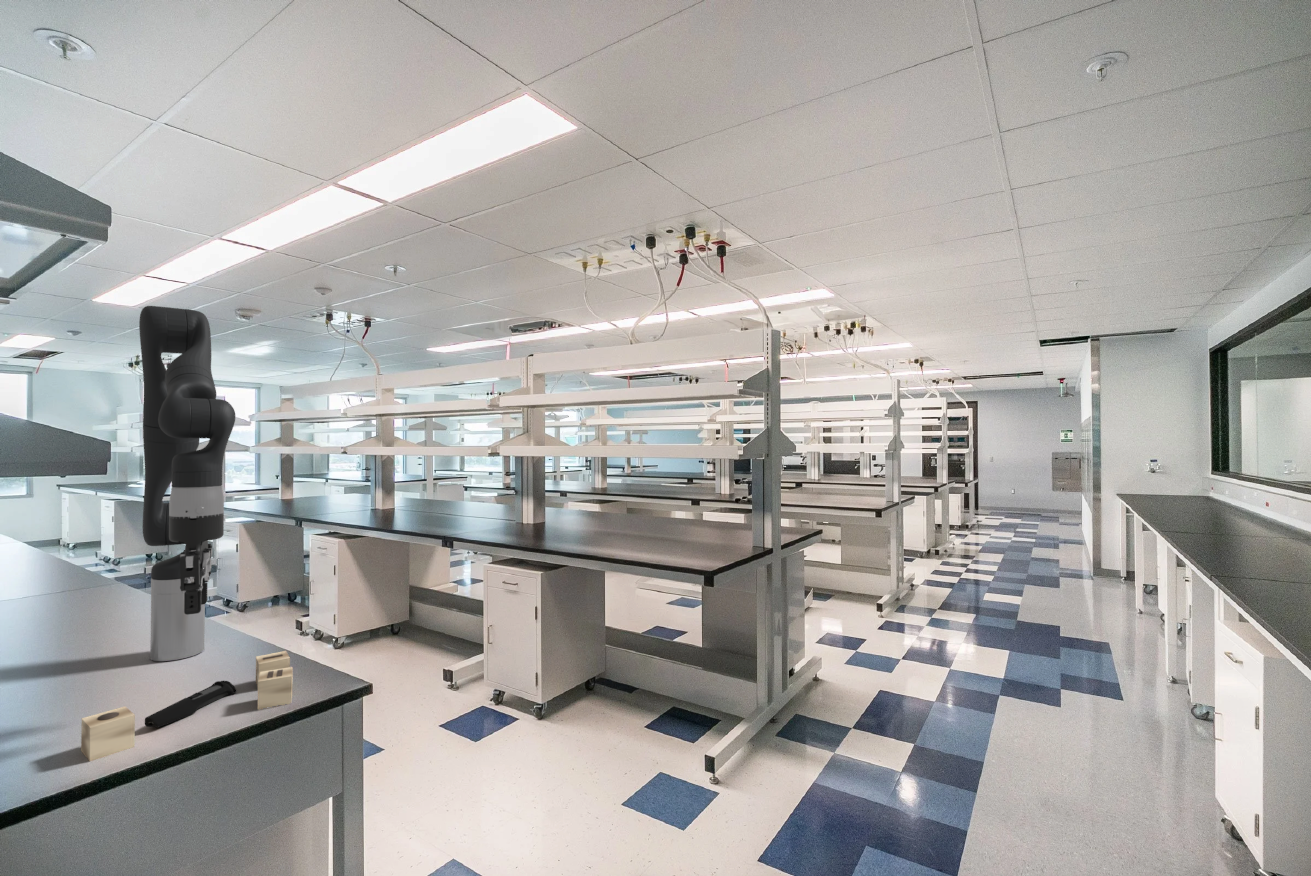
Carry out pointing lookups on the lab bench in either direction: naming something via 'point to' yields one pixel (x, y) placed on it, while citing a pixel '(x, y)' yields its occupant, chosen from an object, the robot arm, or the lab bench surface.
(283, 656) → the maple block
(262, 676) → the maple block
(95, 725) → the maple block
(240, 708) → the lab bench surface
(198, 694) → the electric trimmer
